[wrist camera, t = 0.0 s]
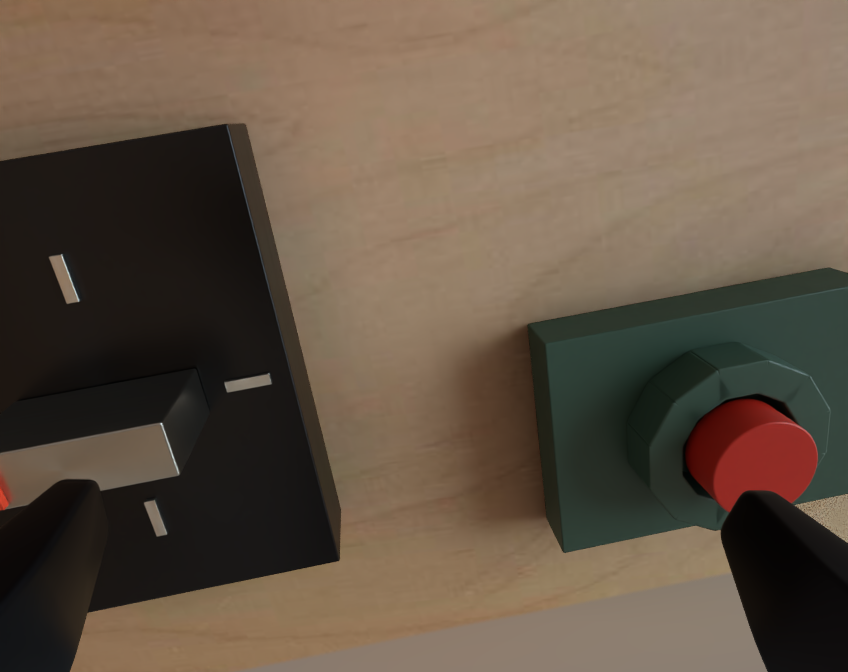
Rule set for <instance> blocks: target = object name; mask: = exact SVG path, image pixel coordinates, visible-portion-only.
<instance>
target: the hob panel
mask: <svg viewBox="0 0 848 672" xmlns="http://www.w3.org/2000/svg"><path fill="white" fill-rule="evenodd" d="M189 369H196V370H197V373H198V376H199V380H200V383H201V386H202V389H203V392H204V395H205V398H206V401H207V405H208V408H209V411H210V414H209V416H208V418H207V420H206V422H205V424H204V426H203V428H202V430H201V432H200V434H199V437H198V439H197V441H196V443H195V445H194V447H193V449H192V451H191V453H190V455H189V457H188V459H187V461H186V463H185V465H184V468H183V470H182V472H181V474H180V475H178V476H174V477H169V478H164V479H159V480H154V481H149V482H143V483H138V484H133V485H128V486H123V487H118V488H113V489H108V490H102V491H101V495H102V499H103V502H104V506H105V510H106V514H107V518H108V523H109V530H108V538H107V542H106V546H105V549H104V553H103V557H102V560H101V564H100V568H99V571H98V575H97V579H96V583H95V586H94V590H93V594H92V597H91V601H90V605H89V608H88V612H93V611H98V610H103V609H108V608H113V607H117V606H122V605H127V604H132V603H137V602H142V601H147V600H152V599H156V598H161V597H166V596H171V595H176V594H181V593H186V592H190V591H195V590H200V589H205V588H210V587H215V586H220V585H224V584H229V583H234V582H239V581H244V580H249V579H254V578H258V577H263V576H268V575H273V574H278V573H283V572H288V571H292V570H297V569H302V568H307V567H312V566H317V565H322V564H326V563H331V562H336V561H339V560H340V528H341V508H340V504H339V500H338V496H337V492H336V488H335V484H334V480H333V476H332V472H331V468H330V464H329V460H328V456H327V451H326V447H325V443H324V439H323V435H322V431H321V427H320V423H319V419H318V415H317V411H316V407H315V403H314V399H313V395H312V391H311V387H310V383H309V379H308V374H307V370H306V366H305V362H304V358H303V354H302V350H301V346H300V342H299V338H298V334H297V330H296V326H295V322H294V318H293V314H292V310H291V306H290V302H289V297H288V293H287V289H286V285H285V281H284V277H283V273H282V269H281V265H280V261H279V257H278V253H277V249H276V245H275V241H274V237H273V233H272V229H271V225H270V220H269V216H268V212H267V208H266V204H265V200H264V196H263V192H262V188H261V184H260V180H259V176H258V172H257V168H256V164H255V160H254V156H253V152H252V148H251V143H250V139H249V135H248V131H247V127H246V125H245V124H222V125H216V126H210V127H204V128H198V129H192V130H186V131H180V132H174V133H168V134H162V135H155V136H149V137H143V138H137V139H131V140H125V141H119V142H113V143H107V144H101V145H95V146H89V147H83V148H76V149H70V150H64V151H58V152H52V153H46V154H40V155H34V156H28V157H22V158H16V159H10V160H4V161H0V414H1V413H2V412H3V411H4V410H6V409H7V408H8V407H9V406H10V405H12V404H13V403H14V402H17V401H22V400H27V399H33V398H38V397H44V396H49V395H54V394H60V393H65V392H70V391H76V390H81V389H87V388H92V387H97V386H103V385H108V384H113V383H119V382H124V381H130V380H135V379H140V378H146V377H151V376H156V375H162V374H167V373H173V372H178V371H183V370H189ZM26 506H27V505H26ZM26 506H20V507H15V508H10V509H5V510H1V511H0V527H1V526H2V525H4V524H5V523H6V522H7V521H9V520H10V519H11V518H12V517H14V516H15V515H16V514H17V513H19V512H20V511H21V510H22V509H24V508H25V507H26ZM88 612H87V613H88Z"/></svg>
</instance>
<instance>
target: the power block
mask: <svg viewBox="0 0 848 672" xmlns="http://www.w3.org/2000/svg"><path fill="white" fill-rule="evenodd" d="M528 335H529V345H530V355H531V365H532V375H533V385H534V395H535V406H536V416H537V426H538V436H539V446H540V456H541V466H542V476H543V486H544V496H545V506H546V516H547V520H548V522H549V524H550V526H551V528H552V530H553V533H554V535H555V537H556V539H557V541H558V543H559V545H560V547H561V549H562V551H563V552H564V553H566V552H571V551H576V550H581V549H585V548H590V547H595V546H600V545H605V544H609V543H614V542H619V541H624V540H628V539H633V538H638V537H643V536H648V535H652V534H657V533H662V532H667V531H671V530H676V529H681V528H686V527H691V526H695V525H696V526H699V527H703V528H706V529H710V530H715V531H716V530H721V528H722V524H723V522H724V521H725V519H726V517H727V516H728V514H729V512H727V511H726V510H725V509H723V508H722V507H721V506H720V505H719V504H718V503H717V502H716V501H715V500H714V499H713V498H712V497H711V496H710V494H709V493H708V492H707V491H706V490H705V489H704V488H703V487H702V486H701V485H700V484H699V483H698V482H697V481H696V480H695V479H694V478H693V477H692V475H691V474H690V472H689V470H688V468H687V464H686V459H685V450H686V445H687V441H688V438H689V436H690V434H691V432H692V430H693V429H694V427H695V425H696V424H697V423H698V422H699V421H700V419H702V418H703V417H704V416H705V415H706V414H707V413H708V412H710V411H711V410H712V409H714V408H715V407H717V406H719V405H721V404H723V403H726V402H729V401H732V400H737V399H755V400H759V401H762V402H764V403H767V404H768V405H770V406H771V407H773V408H774V409H776V410H777V411H779V412H780V413H782V414H783V415H785V416H786V417H787V418H789V419H790V420H792V421H793V422H795V423H796V424H798V425H799V426H801V427H802V428H804V429H805V430H806V431H807V432H808V433H809V434H810V435H811V437H812V438H813V440H814V442H815V444H816V448H817V453H818V462H817V467H816V471H815V474H814V476H813V478H812V480H811V482H810V484H809V485H808V487H807V488H806V489H805V491H804V492H803V493H802V494H801V495H800V496H799V497H798V498H797V499H796V500H795V501H794V502H792V503H791V504H793V505H796V504H800V503H805V502H810V501H815V500H820V499H824V498H829V497H834V496H839V495H843V494H848V273H845V272H842V271H839V270H836V269H832V268H824V269H818V270H813V271H808V272H802V273H797V274H792V275H786V276H781V277H776V278H770V279H765V280H760V281H754V282H749V283H744V284H738V285H733V286H728V287H722V288H717V289H712V290H706V291H701V292H696V293H690V294H685V295H680V296H674V297H669V298H664V299H658V300H653V301H648V302H642V303H637V304H632V305H626V306H621V307H616V308H610V309H605V310H600V311H594V312H589V313H584V314H578V315H573V316H568V317H562V318H557V319H552V320H546V321H541V322H536V323H530V324H528Z"/></svg>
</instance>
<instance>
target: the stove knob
mask: <svg viewBox="0 0 848 672" xmlns="http://www.w3.org/2000/svg"><path fill="white" fill-rule="evenodd" d="M209 414H210V411H209V408H208V405H207V401H206V398H205V395H204V392H203V389H202V386H201V383H200V380H199V376H198V373H197V370H196V369H189V370H183V371H178V372H173V373H167V374H162V375H156V376H151V377H146V378H140V379H135V380H130V381H124V382H119V383H113V384H108V385H103V386H97V387H92V388H87V389H81V390H76V391H70V392H65V393H60V394H54V395H49V396H44V397H38V398H33V399H27V400H22V401H17V402H14V403H13V404H12V405H10V406H9V407H8V408H7V409H6V410H4V411H3V412H2V413H1V414H0V511H1V510H5V509H10V508H15V507H20V506H26V505H29V504H30V503H31V502H32V501H34V500H35V499H36V498H37V497H38V496H40V495H41V494H42V493H43V492H45V491H46V490H47V489H48V488H50V487H51V486H52V485H53V484H55V483H56V482H58V481H60V480H63V479H91V480H94V481H96V482H97V483H98V485H99V487H100V491H102V490H108V489H113V488H118V487H123V486H128V485H133V484H138V483H143V482H149V481H154V480H159V479H164V478H169V477H174V476H178V475H180V474H181V472H182V470H183V468H184V465H185V463H186V461H187V459H188V457H189V455H190V453H191V451H192V449H193V447H194V445H195V443H196V441H197V439H198V437H199V434H200V432H201V430H202V428H203V426H204V424H205V422H206V420H207V418H208V416H209Z"/></svg>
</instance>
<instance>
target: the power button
mask: <svg viewBox="0 0 848 672" xmlns="http://www.w3.org/2000/svg"><path fill="white" fill-rule="evenodd" d="M685 459H686V464H687V468H688V470H689V472H690V474H691V475H692V477H693V478H694V479H695V480H696V481H697V482H698V483H699V484H700V485H701V486H702V487H703V488H704V489H705V490H706V491H707V492H708V493H709V494H710V496H711V497H712V498H713V499H714V500H715V501H716V502H717V503H718V504H719V505H720V506H721V507H722V508H723V509H725V510H726V511H727V512H730V511H731V509H732V508H733V506H734V504H735V503H736V501H737V499H738V498H739V496H740V495H741V494H742V493H743V492H745V491H748V490H765V491H772V492H775V493H777V494H779V495H780V496H781V497H783V498H784V499H786V500H787V501H789V502H790V503H792V502H794V501H795V500H796V499H797V498H798V497H799V496H800V495H801V494H802V493H803V492H804V491H805V489H806V488H807V487H808V485H809V484H810V482H811V480H812V478H813V476H814V474H815V471H816V467H817V462H818V453H817V448H816V444H815V442H814V440H813V438H812V437H811V435H810V434H809V433H808V432H807V431H806V430H805V429H804V428H802V427H801V426H799V425H798V424H796V423H795V422H793V421H792V420H790V419H789V418H787V417H786V416H785V415H783V414H782V413H780V412H779V411H777V410H776V409H774V408H773V407H771V406H770V405H768V404H767V403H764V402H762V401H759V400H755V399H737V400H732V401H729V402H726V403H723V404H721V405H719V406H717V407H715V408H714V409H712V410H711V411H710V412H708V413H707V414H706V415H705V416H704V417H703V418H702V419H700V421H699V422H698V423H697V424H696V425H695V427H694V429H693V430H692V432H691V434H690V436H689V438H688V441H687V445H686V450H685Z"/></svg>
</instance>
